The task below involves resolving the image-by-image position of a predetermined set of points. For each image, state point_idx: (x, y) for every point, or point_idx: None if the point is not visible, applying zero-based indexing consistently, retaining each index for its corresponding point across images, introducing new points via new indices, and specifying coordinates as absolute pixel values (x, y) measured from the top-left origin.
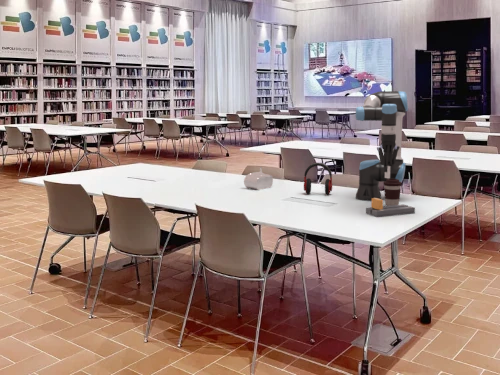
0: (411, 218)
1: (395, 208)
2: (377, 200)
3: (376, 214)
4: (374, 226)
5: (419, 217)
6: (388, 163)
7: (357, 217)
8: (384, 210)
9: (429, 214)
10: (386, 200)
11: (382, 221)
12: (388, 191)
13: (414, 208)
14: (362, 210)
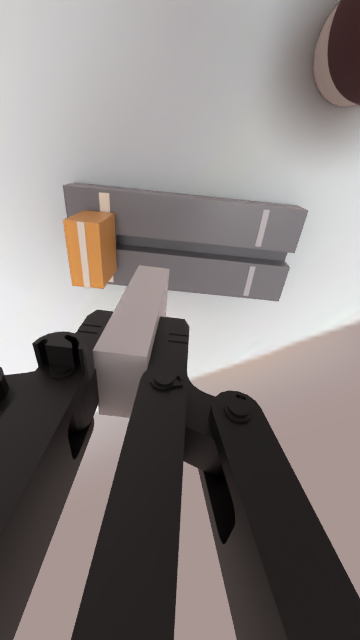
0: (189, 344)
1: (190, 273)
2: (72, 279)
3: None
4: (18, 364)
5: (225, 346)
6: (146, 407)
7: (4, 236)
8: (118, 282)
9: (296, 331)
10: (328, 30)
11: (71, 331)
12: (354, 37)
13: (275, 299)
14: (93, 95)
